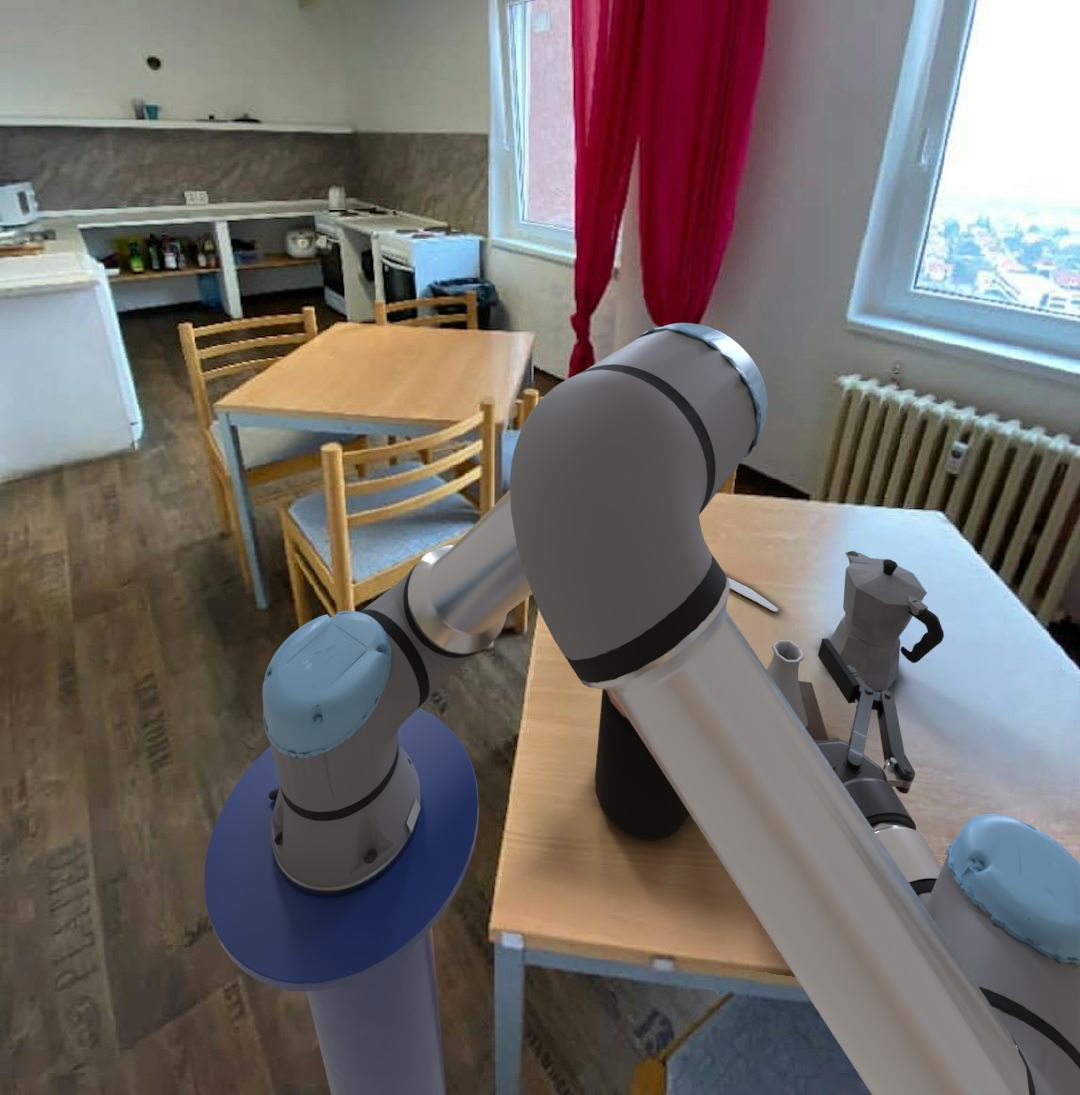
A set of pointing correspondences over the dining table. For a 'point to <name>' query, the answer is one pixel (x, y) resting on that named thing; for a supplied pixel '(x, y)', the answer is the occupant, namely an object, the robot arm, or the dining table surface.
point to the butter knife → (751, 594)
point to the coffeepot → (881, 619)
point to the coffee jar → (633, 779)
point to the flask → (788, 674)
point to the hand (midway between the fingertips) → (768, 650)
